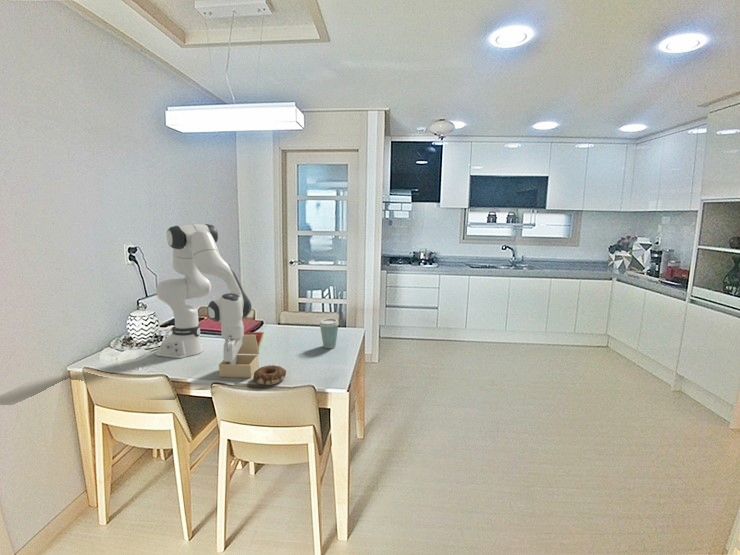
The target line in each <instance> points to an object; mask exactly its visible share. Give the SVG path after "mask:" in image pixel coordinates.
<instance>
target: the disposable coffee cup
mask: <svg viewBox="0 0 740 555" xmlns="http://www.w3.org/2000/svg"><path fill="white" fill-rule="evenodd" d="M339 324H340V323H339V321H338V319H337V318H333V317H330V318H329V317H328V318H324V319H322V320H320V322H319V327H320V334H321V340H322V345H323V348H325V349H334V348H336V345H337V338H338V329H339Z"/></svg>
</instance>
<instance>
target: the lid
mask: <svg viewBox="0 0 740 555" xmlns="http://www.w3.org/2000/svg"><path fill="white" fill-rule="evenodd" d="M225 342H226V341H225V340H224V343H225ZM259 351H260V350H259ZM259 351H258V346H257V341H256V336H255V335H244V336H243V342H242V346H241V348H240V349H239V351H238V353H237V355H260V352H259Z"/></svg>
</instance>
